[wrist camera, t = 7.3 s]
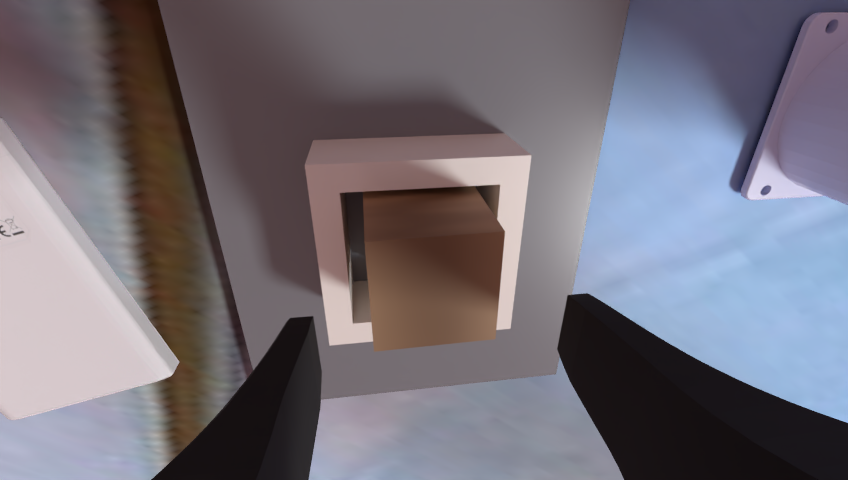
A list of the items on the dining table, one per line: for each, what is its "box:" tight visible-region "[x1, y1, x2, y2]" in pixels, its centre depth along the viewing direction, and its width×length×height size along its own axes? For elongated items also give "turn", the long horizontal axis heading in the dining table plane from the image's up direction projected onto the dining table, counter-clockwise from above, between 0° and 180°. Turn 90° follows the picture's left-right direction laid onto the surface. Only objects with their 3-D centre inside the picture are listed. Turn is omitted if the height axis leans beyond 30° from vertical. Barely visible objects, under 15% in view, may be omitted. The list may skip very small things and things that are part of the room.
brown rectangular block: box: [363, 186, 505, 352], centre depth 16 cm, size 4×4×6 cm
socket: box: [158, 0, 630, 399], centre depth 17 cm, size 16×20×4 cm
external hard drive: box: [0, 117, 179, 420], centre depth 18 cm, size 2×8×12 cm
